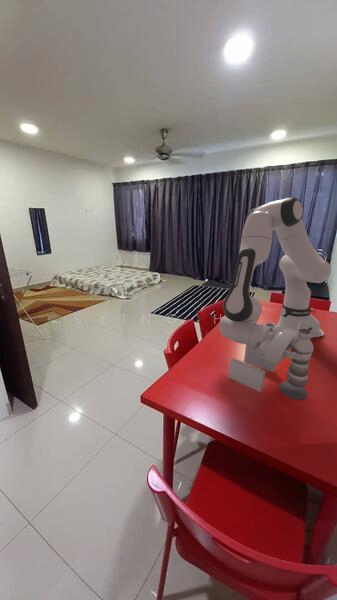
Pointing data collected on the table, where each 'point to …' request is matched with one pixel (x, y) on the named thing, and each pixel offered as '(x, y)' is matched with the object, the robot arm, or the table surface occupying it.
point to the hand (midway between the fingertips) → (304, 352)
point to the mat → (292, 391)
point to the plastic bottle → (299, 368)
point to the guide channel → (250, 369)
